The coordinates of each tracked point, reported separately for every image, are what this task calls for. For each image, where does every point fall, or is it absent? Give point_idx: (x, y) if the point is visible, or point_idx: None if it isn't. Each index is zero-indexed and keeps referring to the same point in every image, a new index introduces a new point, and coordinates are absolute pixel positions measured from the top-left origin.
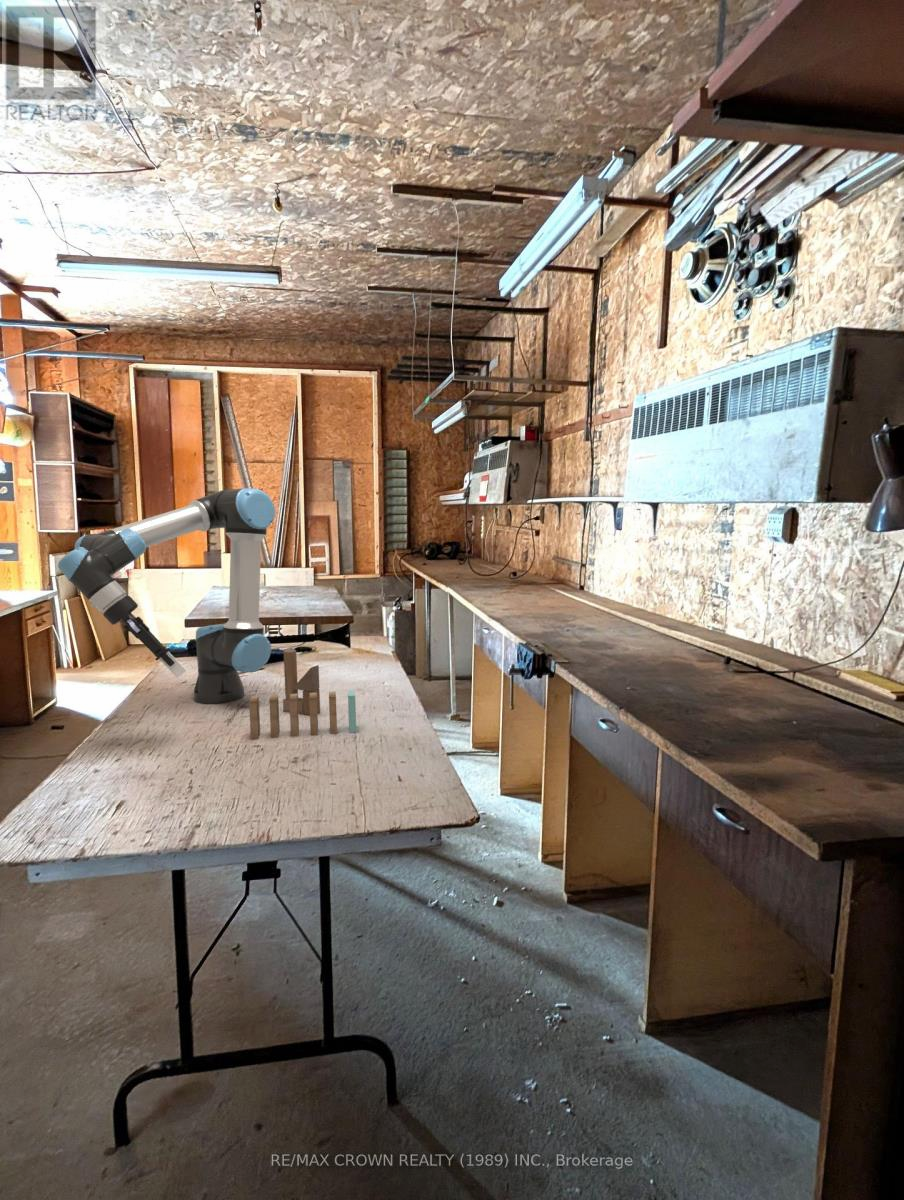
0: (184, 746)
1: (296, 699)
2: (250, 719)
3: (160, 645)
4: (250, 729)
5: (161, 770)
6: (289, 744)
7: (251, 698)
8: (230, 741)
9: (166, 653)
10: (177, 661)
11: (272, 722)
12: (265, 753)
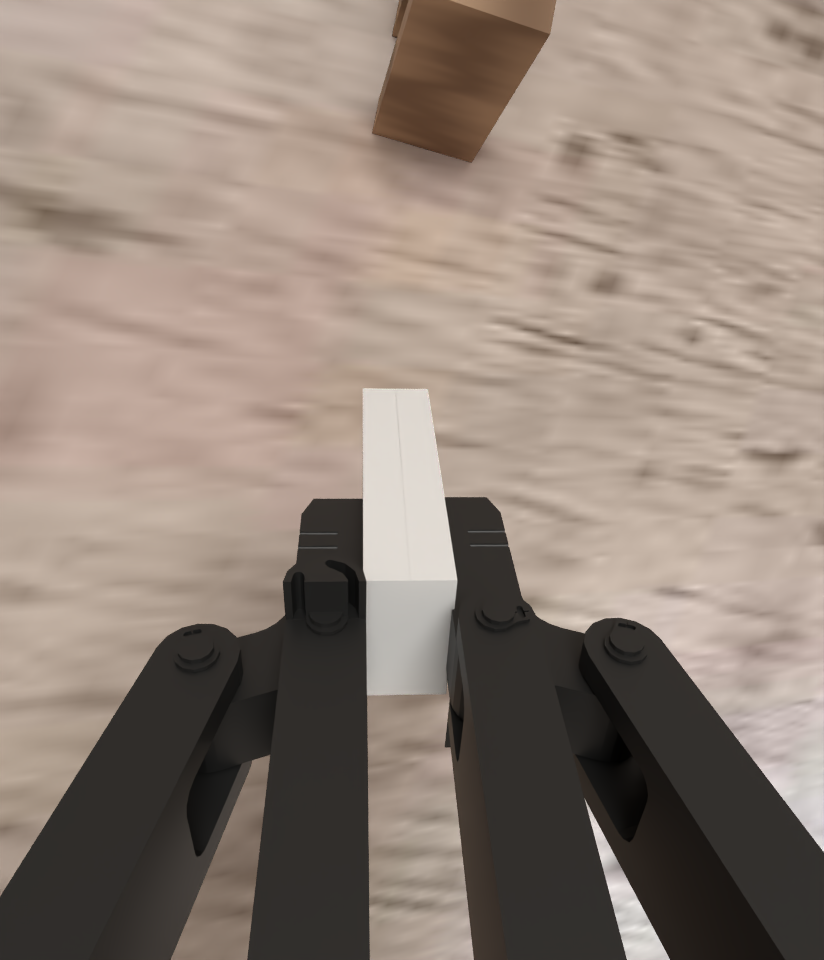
0: (449, 485)
1: None
2: (506, 101)
3: (630, 706)
4: (487, 135)
5: (722, 578)
6: (611, 11)
7: (479, 2)
8: (462, 262)
9: (454, 603)
10: (427, 465)
11: None
12: (684, 137)
